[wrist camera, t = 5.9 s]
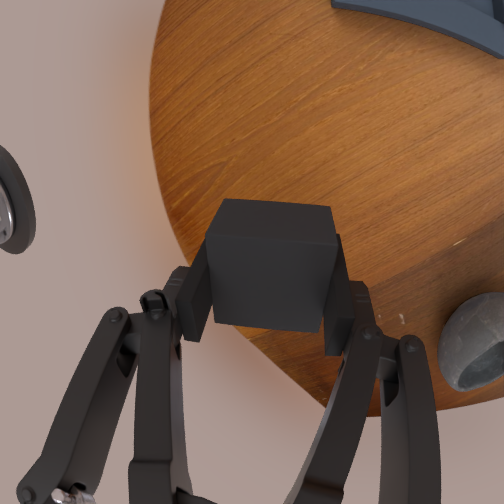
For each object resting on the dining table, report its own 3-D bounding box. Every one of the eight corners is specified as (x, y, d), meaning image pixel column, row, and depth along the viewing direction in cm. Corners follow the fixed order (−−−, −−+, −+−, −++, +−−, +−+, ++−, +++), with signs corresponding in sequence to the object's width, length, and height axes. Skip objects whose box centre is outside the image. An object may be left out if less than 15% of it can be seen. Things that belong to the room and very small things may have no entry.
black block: (228, 279, 20) (214, 323, 16) (223, 198, 16) (204, 234, 13) (316, 287, 19) (318, 333, 16) (330, 205, 15) (339, 245, 12)
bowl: (424, 299, 32) (446, 361, 24) (511, 258, 26) (546, 309, 18) (430, 355, 38) (443, 406, 30) (502, 322, 33) (523, 368, 25)
